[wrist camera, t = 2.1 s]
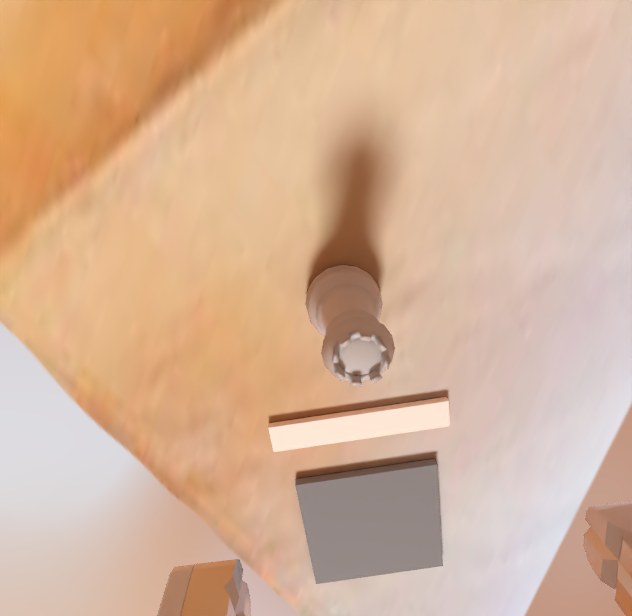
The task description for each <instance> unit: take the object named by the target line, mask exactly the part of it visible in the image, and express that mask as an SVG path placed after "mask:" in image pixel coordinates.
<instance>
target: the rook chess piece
mask: <svg viewBox="0 0 632 616" xmlns="http://www.w3.org/2000/svg"><path fill="white" fill-rule="evenodd" d="M306 307H307V311H308V314H309V318H310V321H311V323H312V324H313V325H314V327H315V328H316V329H317V330H318V331H319V333H320V334H322V335H324V336H325V339H324V341H323V347H322V357H323V360H324V364H325V366H326V367H327V369H328V370H329V371H330V372H331V373H332V375H333V376H335V377H337V378H339V379H340V380H343V381H346V382H350V385H351V386H359V387H362V382H364V381H369V380H371V382H372V384H374V383H375V382H377V381H378V380H380V379H381V378H382V376H381V374H382V373H383V372H384V371H385V370H386V369H389V365H390V363H391V362H392V358H393V354H394V349H395V347H394V342H393V338H392V335H391V334H390V332H389V331H388V330H387V328H386V327H385V326H384V325H383V324H381V323H379V318H380V313H381V309H382V300H381V295H380V290H379V288H378V285H377V283H376V282H375V281H374V279H373V278H372V276H371V275H370V274H369V273H367V272H365V271H364V270H362V269H360V268H359V267H356V266H348V265H339V266H335V267H331V268H327V269H326V270H325V271H323V272H322V273H321V274H319V275H318V276H316V277H315V279H314V280H313V282H312V283H311V285H310V287H309V288H308V290H307V297H306Z"/></svg>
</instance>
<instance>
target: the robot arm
mask: <svg viewBox="0 0 632 616" xmlns="http://www.w3.org/2000/svg"><path fill="white" fill-rule="evenodd" d="M586 521H587V522H588V524H589V525H590V526H591V527H590V528H589V529H588V531H587V532H586V533H585V534H584V549H585V552H586V556H587V559H588V561H589V563H590V565H591V567H592V569H593V570H594V572H595V573H596V575H597V576H598V578H599V579H600V580H601V581H602V582H604V583H606V584H607V585H609V586H610V587H612V588H613V589H615V601H616V603H617V604H618V605H619V607H620V608H621V610H622V611H623V612H624V614H625V615H626V616H632V501H624V502H618V503H612V504H606V505H600V506H594V507H590V508H589V509H588V510H587V512H586ZM242 573H243V568H242V565H241V562H240V560H239V559H236V560H227V561H219V562H211V563H202V564H194V565H187V566H179V567H174V569H173V570H172V572H171V573H170V575H169V579H168V582H167V585H166V588H165V591H164V595H163V598H162V601H161V604H160V608H159V611H158V614H157V616H251V614H250V613H251V609H250V595H249V590H248V586H247V583H245V582H244V581H243V580H242Z"/></svg>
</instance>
